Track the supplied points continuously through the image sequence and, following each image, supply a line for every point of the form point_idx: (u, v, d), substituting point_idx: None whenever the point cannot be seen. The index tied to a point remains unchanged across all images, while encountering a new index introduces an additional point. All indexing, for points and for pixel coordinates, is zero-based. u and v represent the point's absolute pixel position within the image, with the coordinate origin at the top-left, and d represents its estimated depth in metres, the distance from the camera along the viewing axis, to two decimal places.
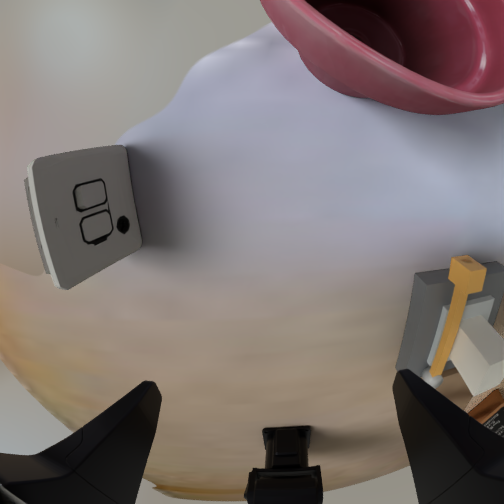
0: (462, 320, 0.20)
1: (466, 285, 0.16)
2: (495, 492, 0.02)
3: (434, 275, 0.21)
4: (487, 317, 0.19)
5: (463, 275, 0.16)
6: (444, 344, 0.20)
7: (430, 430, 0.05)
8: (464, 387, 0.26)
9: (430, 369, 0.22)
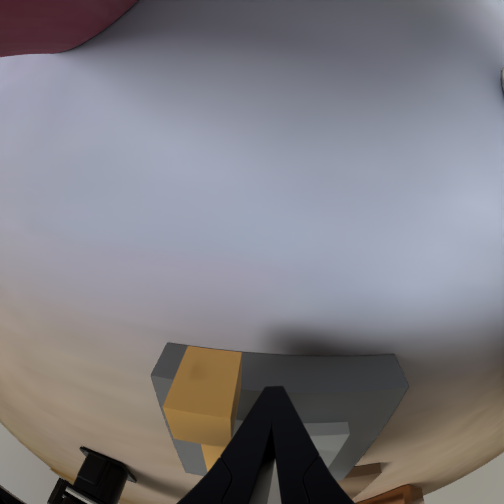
0: None
1: None
2: None
3: None
4: (333, 453, 0.11)
5: None
6: None
7: None
8: None
9: None
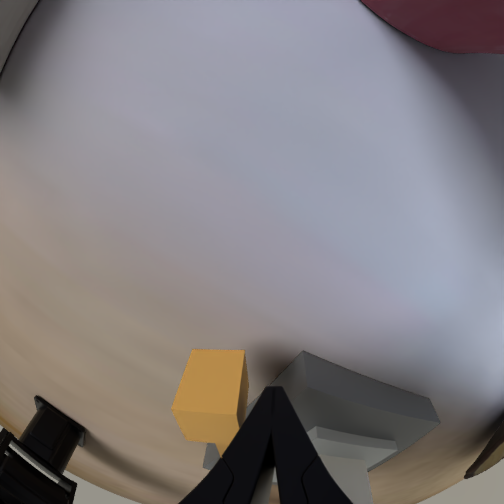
0: (332, 457, 0.12)
1: None
2: None
3: (332, 374, 0.12)
4: (371, 464, 0.13)
5: None
6: None
7: None
8: None
9: None
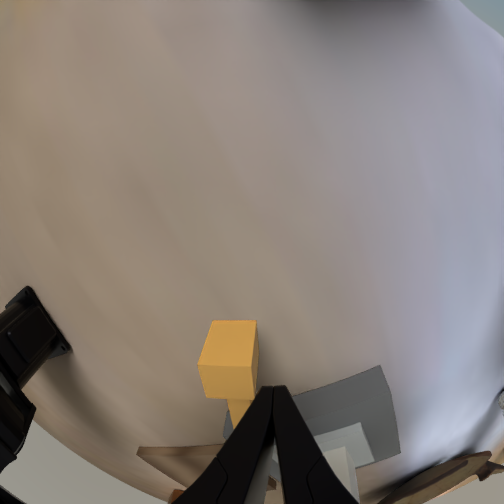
0: (347, 451, 0.15)
1: None
2: None
3: None
4: None
5: None
6: None
7: (278, 457, 0.06)
8: None
9: None
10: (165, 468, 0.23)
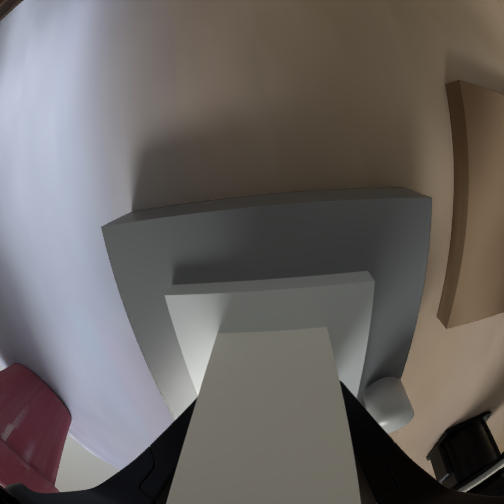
0: None
1: None
2: None
3: None
4: (228, 299, 0.09)
5: None
6: None
7: None
8: None
9: None
10: None
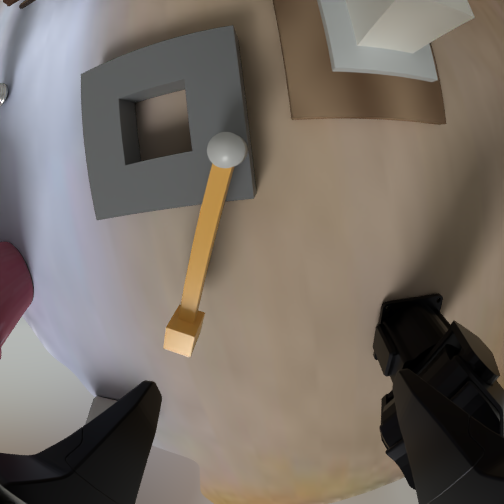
0: (354, 32, 0.11)
1: (193, 343, 0.17)
2: (495, 492, 0.02)
3: None
4: None
5: (194, 343, 0.18)
6: None
7: (430, 430, 0.05)
8: None
9: (232, 171, 0.15)
10: None
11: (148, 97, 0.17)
